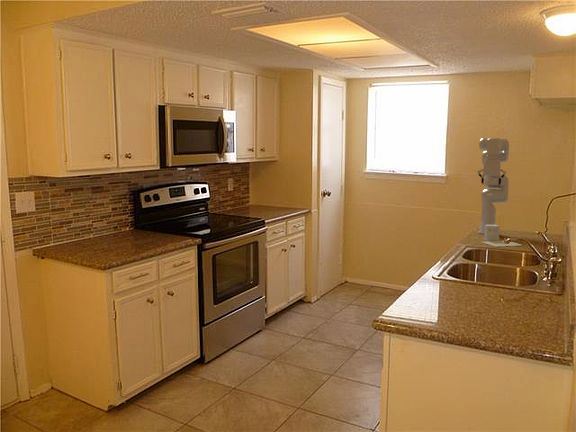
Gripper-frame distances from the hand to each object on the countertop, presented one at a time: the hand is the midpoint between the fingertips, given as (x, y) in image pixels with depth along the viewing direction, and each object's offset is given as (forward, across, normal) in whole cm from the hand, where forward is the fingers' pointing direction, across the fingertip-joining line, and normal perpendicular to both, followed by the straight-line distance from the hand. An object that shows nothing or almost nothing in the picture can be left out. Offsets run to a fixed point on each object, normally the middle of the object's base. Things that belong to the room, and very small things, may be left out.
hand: (490, 184), depth 319 cm
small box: (+38, -2, -3) cm, 38 cm away
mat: (+37, -8, +7) cm, 39 cm away
